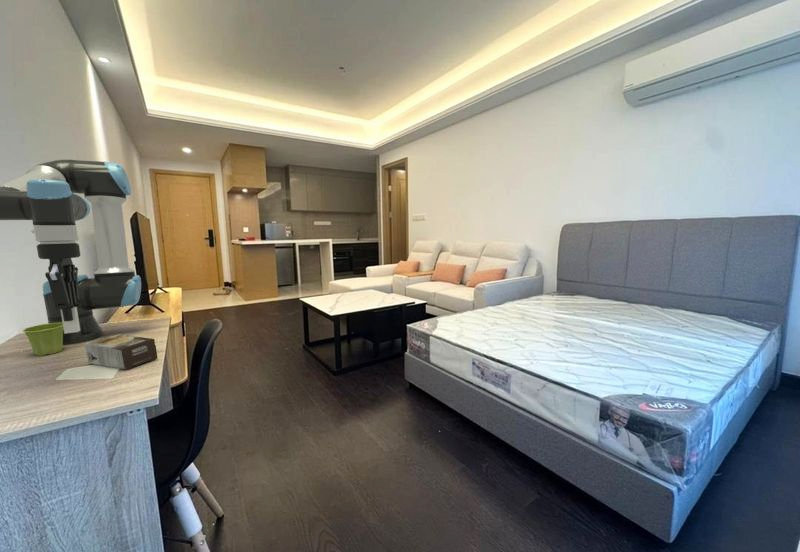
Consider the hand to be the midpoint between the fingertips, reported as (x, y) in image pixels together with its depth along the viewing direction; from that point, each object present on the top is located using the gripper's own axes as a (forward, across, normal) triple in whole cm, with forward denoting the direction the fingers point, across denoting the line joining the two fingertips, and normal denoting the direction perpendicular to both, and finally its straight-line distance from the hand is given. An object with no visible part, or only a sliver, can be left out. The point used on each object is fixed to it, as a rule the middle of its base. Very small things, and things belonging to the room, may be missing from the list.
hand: (72, 331), depth 86 cm
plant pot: (+13, -29, -15) cm, 35 cm away
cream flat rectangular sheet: (+12, +2, +2) cm, 13 cm away
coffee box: (+9, -12, +3) cm, 15 cm away
